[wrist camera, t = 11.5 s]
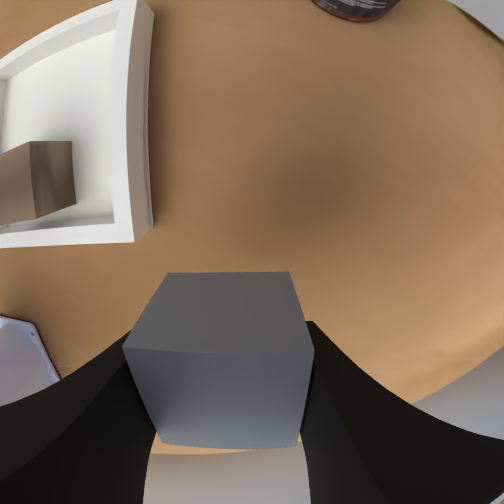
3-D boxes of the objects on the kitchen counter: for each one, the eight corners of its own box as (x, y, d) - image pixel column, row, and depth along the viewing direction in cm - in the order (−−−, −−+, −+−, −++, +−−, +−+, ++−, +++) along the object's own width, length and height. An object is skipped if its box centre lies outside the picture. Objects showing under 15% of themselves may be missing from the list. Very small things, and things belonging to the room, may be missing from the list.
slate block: (283, 363, 10) (295, 447, 6) (183, 362, 10) (162, 443, 6) (288, 271, 9) (314, 350, 5) (168, 272, 9) (121, 346, 5)
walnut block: (76, 204, 14) (36, 219, 10) (36, 211, 14) (-3, 225, 10) (71, 141, 13) (29, 141, 9) (31, 154, 13) (-10, 159, 9)
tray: (153, 227, 15) (134, 242, 13) (10, 237, 15) (-14, 249, 13) (154, 14, 11) (138, -8, 8) (7, 75, 11) (-16, 72, 8)
